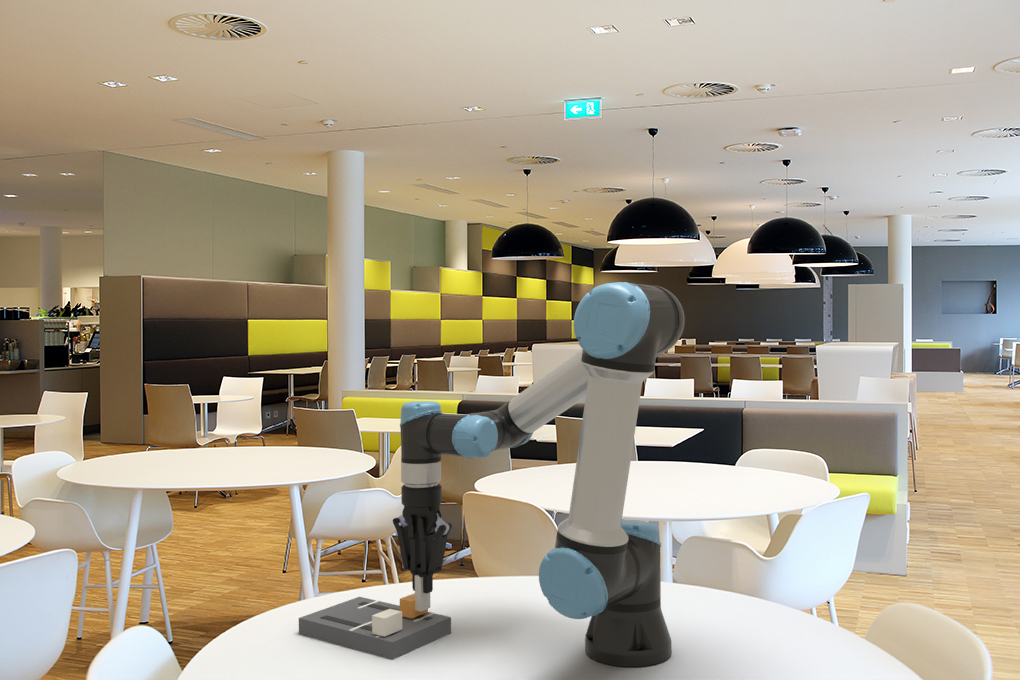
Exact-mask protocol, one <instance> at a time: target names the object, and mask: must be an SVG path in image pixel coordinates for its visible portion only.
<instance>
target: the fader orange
mask: <svg viewBox="0 0 1020 680" xmlns="http://www.w3.org/2000/svg"><path fill="white" fill-rule="evenodd" d="M399 606H400V611H402V616H403V617H407V618H414V617H417V616H419V615H422V614H424V613H427V612H429V609H426V610H424V611H416V610H415V592H414V593H412V594H411V593H410V594H408V595H406V596H403V597H400V598H399Z"/></svg>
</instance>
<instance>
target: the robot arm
mask: <svg viewBox="0 0 1020 680" xmlns="http://www.w3.org/2000/svg"><path fill="white" fill-rule="evenodd" d="M684 312H685V311H684V309H683V306H682V303H681V302H680V301H679V299H678V298H677V296H676V295H674V294H673V293H672V291H670V290H669V289H666V288H664V287H662V286H659V285H654V284H642V283H640V284H638V283H631V282H626V281H624V282H622V281H621V282H620V281H616V282H609V283H608V282H607V283H603V284H600V285H598V286H595V287H593V288H592V289H590V291H589V292H587V293H586V294H585V295H584V296H583V297H582V299H581V300H580V302H579V303H578V305H577V307H576V310H575V313H574V317H573V332H574V336H575V339H577V341H578V345H579V346H580V348H581V349H580V350H579V351H578V352H576V353H575V354H573V355H572V356H570V357H569V358H568V359H566V360H565V361H563V362H561V364H559V365H558V366H557V367H554V368H553V369H551V370H550V371H549V372H548V373H546V374H545V375H543V376H541V378H540V379H538V380H537V381H535V382H534V383H532V384H530V386H528V387H527V388H525V389H523V390H522V391H521V392H519V393H518V394H517V395H516V396H514V397H513V398H511V399H510V400H508V402H506V403H504V404H502V405H501V406H500V407H499V408H497V409H495V410H488V411H487V410H486V411H481V412H480V411H479V412H471V413H464V414H459V413H458V414H457V413H456V414H452V413H451V414H450V413H443V412H442V410H441V409H442V408H441V404H440V403H439V402H438V401H435V400H433V401H432V400H431V401H429V400H418V401H417V400H416V401H415V400H414V401H407V402H404V403H403V405H402V406H401V408H400V423H399V427H400V428H399V429H400V446H401V447H400V452H401V456H400V457H401V458H400V461H401V463H400V467H401V470H400V482H401V483H402V484H403V485H402V486H401V487H400V488H401V495H400V497H401V499H400V500H401V505H403V508H402V514H400V515H399V516H398V517H394V518H393V519H392V524H393V525H394V528H395V530H396V534H397V540H398V544H399V551H400V555H401V561H402V566H403V569H404V570H406V571H407V570H408V571H409V572H410V574H411V578H412V579H411V580H412V583H411V585H412V591H414V593H415V610H416V611H424V610H426V609H428V610H429V609H431V593H432V592H433V589H434V587H433V585H434V584H433V583H434V582H433V581H434V580H433V579H434V577H433V576H434V575H435V574H437V573H440V572H441V571H442V568H443V564H444V559H445V554H446V549H447V548H446V547H447V542H448V537H449V534H450V532H451V530H452V528H453V524H452V523H451V522H448V523H446V522H445V521H444V519H442V516H443V515H442V512H441V509H440V507H441V504H442V497H443V496H442V490H443V489H442V484H441V483H440V482H441V481H442V455H446V456H453V457H454V456H455V457H464V458H466V459H474V458H476V459H477V458H478V459H479V458H482V459H483V458H484V459H485V458H487V457H489V456H490V455H491V454H492V452H494V451H499V450H505V449H513V448H517V447H519V446H521V445H525V444H526V443H528V442H529V441H531V438H532V436H533V434H534V432H536V431H537V430H539V429H540V428H542V427H544V425H546V424H547V423H549V422H551V421H552V420H554V419H555V418H557V417H558V416H560V415H561V414H562V413H564V412H566V411H568V409H570V408H572V407H573V406H575V405H576V404H578V403H579V402H581V401H582V400H585V401H584V406H583V407H584V408H583V413H582V414H583V415H582V422H581V429H580V436H579V442H578V449H577V456H576V457H577V458H576V462H575V469H574V477H573V478H574V479H573V482H572V484H573V485H572V492H571V497H570V499H571V500H570V505H569V513H568V517H567V518H566V519H563V521H561V522H560V523H558V526H557V530H556V531H557V532H556V536H555V543H554V548H552V549H551V550H550V551H549V552H547V553H546V555H545V556H544V557H543V558H542V560H541V562H540V564H539V569H538V582H539V586H540V590H541V592H542V594H543V596H544V597H546V599H547V601H548V604H549V605H550V607H551V608H553V609H554V610H555V611H556V612H557V613H559V614H560V615H562V616H564V617H565V618H568V619H571V620H572V619H573V620H583V619H588V618H590V620H589V624H588V625H587V630H586V633H585V636H584V650H585V654H586V655H587V656H588V657H590V659H593V660H595V661H597V662H600V663H603V664H606V665H612V666H617V667H618V666H619V667H635V668H636V667H646V666H652V665H656V664H661V663H663V662H664V661H666V660H669V658H670V657H671V656H672V650H673V649H672V638H671V636H670V631H669V629H668V625H667V623H666V620H665V617H664V614H663V611H662V604H661V603H662V601H661V600H662V599H661V598H662V597H661V596H662V595H661V594H662V592H661V590H662V589H661V588H662V587H661V586H662V585H661V547H662V542H661V541H660V540H661V539H660V531H659V530H660V529H659V527H658V526H657V525H655V524H654V523H651V522H648V521H641V520H636V519H635V520H634V519H625V518H623V515H624V514H623V513H624V507H625V500H626V495H627V494H626V493H627V487H628V480H629V474H630V467H631V461H632V453H633V449H634V441H635V435H636V434H635V433H636V429H637V428H636V427H637V421H638V420H637V419H638V414H639V407H640V401H641V394H642V387H643V382H644V381H645V380H646V379H648V378H649V377H650V376H652V375H653V374H654V372H655V365H656V360H657V358H658V357H659V356H661V355H662V354H663V355H664V353H666V352H668V351H669V350H670V349H672V348H673V347H674V346H675V345H677V343H678V341H679V340H680V338H681V336H682V335H683V331H684V329H685V313H684Z"/></svg>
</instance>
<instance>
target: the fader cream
mask: <svg viewBox="0 0 1020 680" xmlns="http://www.w3.org/2000/svg"><path fill="white" fill-rule="evenodd" d="M399 630H402V611H398V610H394V609H388V610H385V611H382V612H380V613H377V614H375V615H372V634H376V635H380V636H384V637H385V636H387V635H390V634H392V633H395V632H397V631H399Z"/></svg>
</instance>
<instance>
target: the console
mask: <svg viewBox="0 0 1020 680" xmlns="http://www.w3.org/2000/svg"><path fill="white" fill-rule="evenodd" d="M388 609H394V610H398V611H400V604H399V605H398V604H395V603H389V602H385V601H381V600H377V599H371V598H367V597H362V596H358V597H357V596H356V597H354V598H352V599H350V600H349V599H348V600H345V601H343V602H340V603H337V604H335V605H332V606H329V607H326V608H323V609H319V610H318V611H314V612H311V613H309V614H306V615H303V616H301V617H298V635H301V636H306V637H308V638H309V637H310V638H313V639H316V640H321V641H324V642H327V643H331V644H335V645H338V646H342V647H347V648H349V649H353V650H357V651H360V652H364V653H368V654H371V655H374V656H379V657H382V658H386V659H389V660H395V659H397V658H400V657H402V656H403V655H405V654H408V653H410V652H412V651H415V650H417V649H419V648H421V647H423V646H426V645H428V644H430V643H432V642H434V641H436V640H439V639H441V638H443V637H445V636H448V635H450V634H451V633H452V617H451V616H448V615H443V614H437V613H435V612H430V611H428V612H427V613H424V614H422V615H419V616H417V617H414V618H407V617H403V616H402V630H399V631H397V632H395V633H392V634H390V635H387V636H385V637H384V636H380V635H376V634H372V615H375V614H377V613H380V612H382V611H385V610H388Z"/></svg>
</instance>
